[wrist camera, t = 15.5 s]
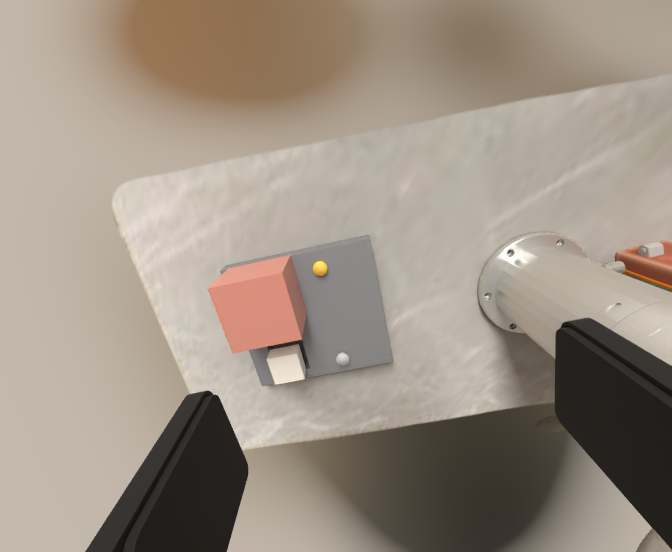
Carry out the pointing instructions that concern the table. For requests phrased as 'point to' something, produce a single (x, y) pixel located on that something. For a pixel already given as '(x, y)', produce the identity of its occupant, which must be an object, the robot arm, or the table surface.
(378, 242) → the table surface
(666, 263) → the control panel
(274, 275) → the cap
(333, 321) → the board
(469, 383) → the table surface
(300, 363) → the block
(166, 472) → the robot arm
